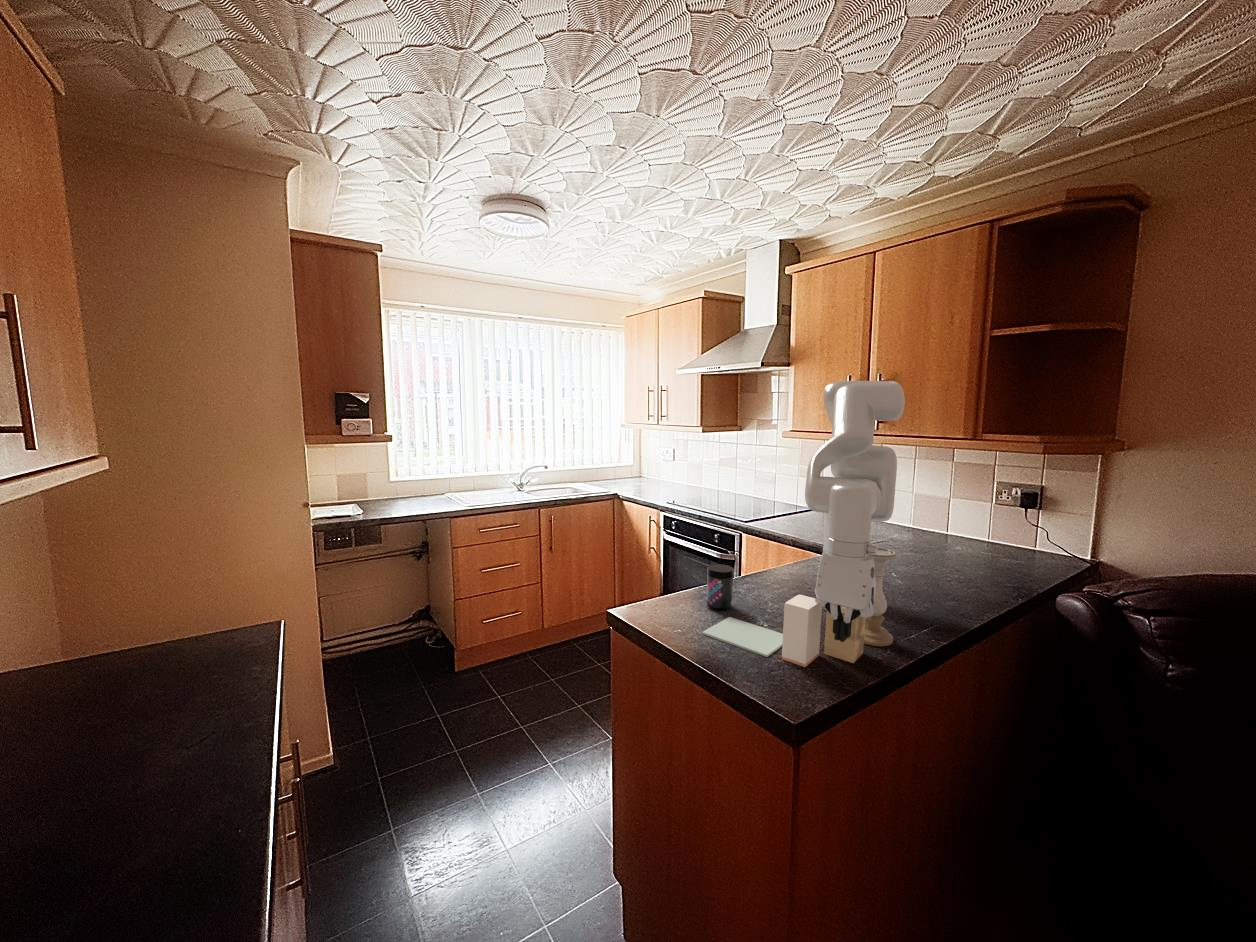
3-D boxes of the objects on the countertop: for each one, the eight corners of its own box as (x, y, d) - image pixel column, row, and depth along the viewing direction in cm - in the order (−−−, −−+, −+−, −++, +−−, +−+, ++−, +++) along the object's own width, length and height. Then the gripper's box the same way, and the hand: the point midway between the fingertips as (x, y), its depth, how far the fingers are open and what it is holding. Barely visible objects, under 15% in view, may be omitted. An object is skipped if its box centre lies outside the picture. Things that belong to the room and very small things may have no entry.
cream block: (795, 647, 109) (798, 594, 108) (818, 655, 106) (822, 600, 105) (781, 659, 104) (784, 603, 103) (805, 667, 101) (808, 609, 99)
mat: (729, 618, 124) (729, 616, 124) (791, 638, 114) (791, 636, 113) (702, 633, 115) (702, 631, 115) (767, 657, 105) (767, 654, 105)
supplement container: (705, 601, 135) (706, 563, 134) (730, 602, 135) (731, 564, 134) (707, 611, 129) (708, 571, 127) (734, 612, 128) (735, 572, 127)
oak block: (834, 644, 111) (837, 600, 110) (862, 653, 107) (866, 608, 106) (823, 653, 107) (826, 608, 106) (853, 663, 103) (856, 616, 102)
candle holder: (860, 626, 121) (866, 543, 118) (899, 639, 114) (906, 551, 112) (843, 637, 115) (849, 550, 113) (883, 650, 108) (890, 559, 106)
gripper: (895, 551, 95) (887, 644, 97) (816, 537, 105) (811, 622, 107) (883, 559, 89) (876, 658, 91) (801, 544, 99) (796, 633, 101)
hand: (841, 638), depth 99 cm, fingers closed
